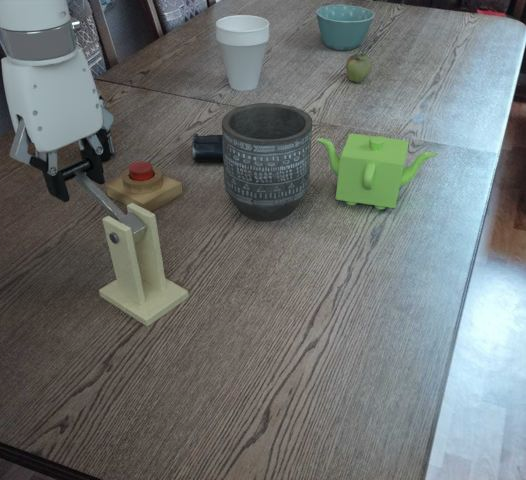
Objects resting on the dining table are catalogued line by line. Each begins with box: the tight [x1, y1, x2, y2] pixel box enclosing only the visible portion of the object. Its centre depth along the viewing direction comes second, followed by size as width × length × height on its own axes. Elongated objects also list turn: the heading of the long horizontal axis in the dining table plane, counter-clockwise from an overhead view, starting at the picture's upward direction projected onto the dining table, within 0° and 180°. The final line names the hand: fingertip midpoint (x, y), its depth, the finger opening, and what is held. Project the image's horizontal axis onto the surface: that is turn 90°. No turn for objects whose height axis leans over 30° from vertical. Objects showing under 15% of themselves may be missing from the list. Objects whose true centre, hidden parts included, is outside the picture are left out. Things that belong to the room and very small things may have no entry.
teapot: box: [316, 133, 438, 210], centre depth 94 cm, size 15×13×11 cm
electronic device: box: [191, 132, 224, 163], centre depth 107 cm, size 9×6×15 cm
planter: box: [221, 102, 313, 222], centre depth 90 cm, size 14×14×15 cm
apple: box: [345, 53, 371, 84], centre depth 135 cm, size 6×8×6 cm
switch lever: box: [57, 158, 146, 243], centre depth 71 cm, size 13×5×2 cm, turn 50°
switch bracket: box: [98, 203, 190, 328], centre depth 74 cm, size 10×8×13 cm
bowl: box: [315, 4, 375, 51], centre depth 152 cm, size 16×16×8 cm
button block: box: [104, 164, 184, 213], centre depth 97 cm, size 10×9×4 cm
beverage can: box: [76, 88, 116, 163], centre depth 104 cm, size 7×7×12 cm
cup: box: [215, 14, 270, 92], centre depth 129 cm, size 12×12×14 cm
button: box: [128, 161, 154, 181], centre depth 95 cm, size 4×4×2 cm
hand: (78, 188), depth 73 cm, fingers closed on switch lever, 5 cm apart
